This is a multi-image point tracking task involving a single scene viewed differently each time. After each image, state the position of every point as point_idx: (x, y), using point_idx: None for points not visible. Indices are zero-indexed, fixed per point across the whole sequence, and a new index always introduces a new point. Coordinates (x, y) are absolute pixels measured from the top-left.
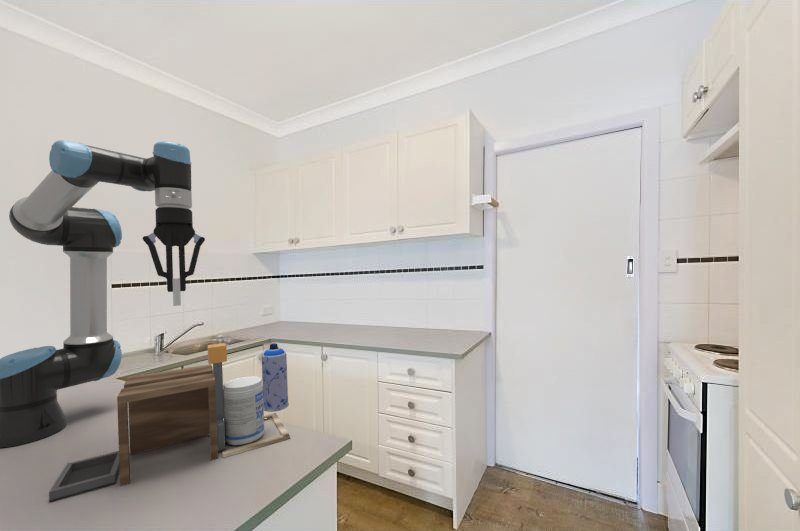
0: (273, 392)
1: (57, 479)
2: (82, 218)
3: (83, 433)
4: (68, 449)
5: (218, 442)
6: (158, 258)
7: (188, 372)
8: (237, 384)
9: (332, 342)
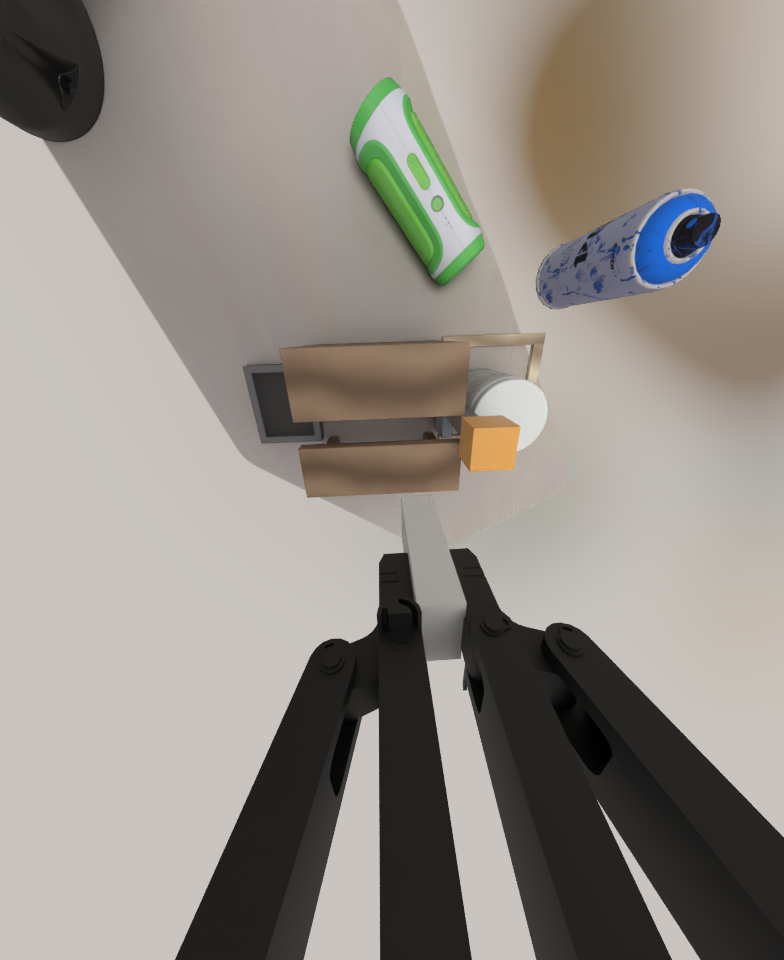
0: (573, 301)
1: (255, 415)
2: None
3: (182, 153)
4: (199, 254)
5: (437, 431)
6: (304, 941)
7: (414, 399)
8: None
9: None
